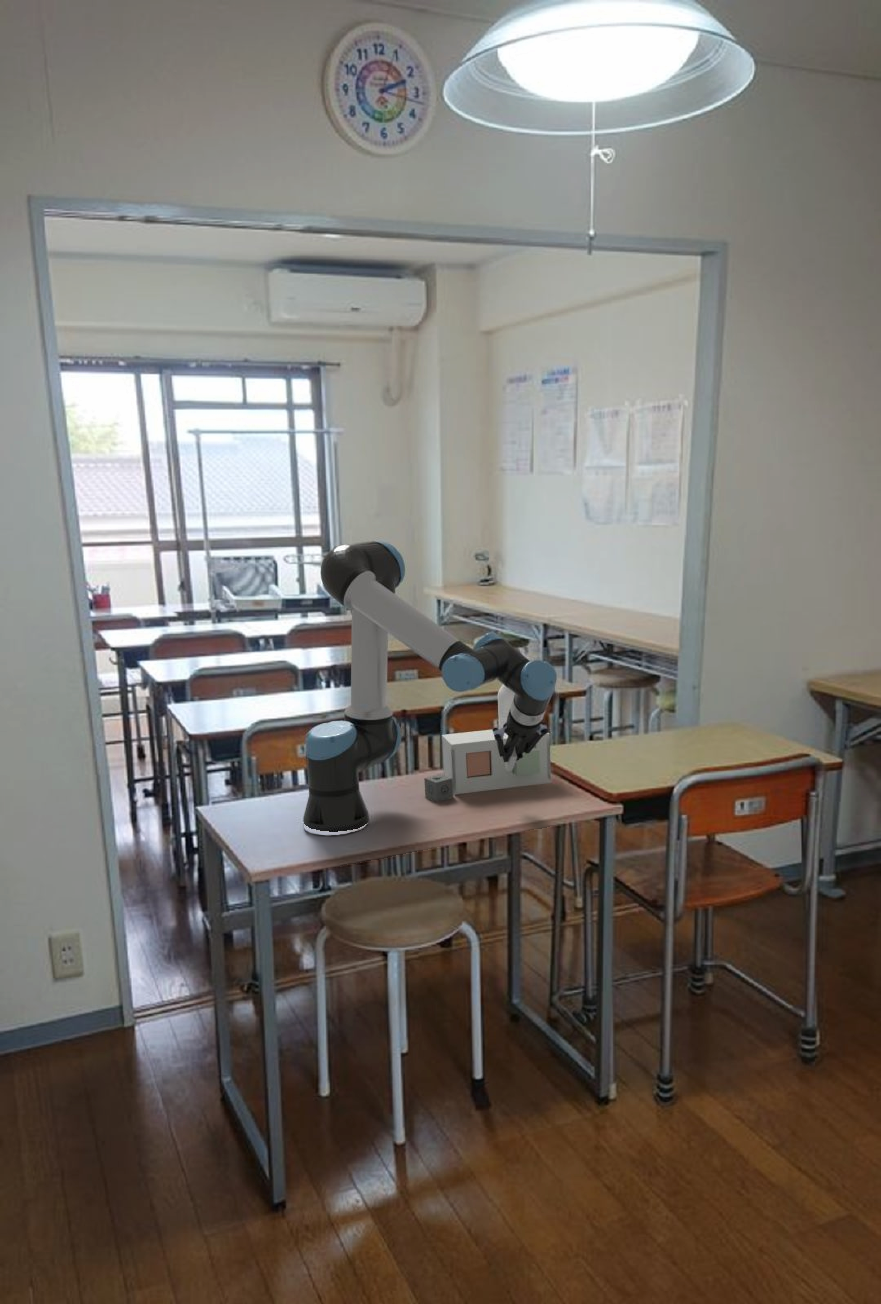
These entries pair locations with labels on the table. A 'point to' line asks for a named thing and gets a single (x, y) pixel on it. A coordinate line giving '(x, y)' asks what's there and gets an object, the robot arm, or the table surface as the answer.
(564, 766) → the table surface
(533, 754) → the sage button
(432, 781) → the dice cube
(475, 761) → the terracotta button
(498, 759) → the box
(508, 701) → the water bottle
